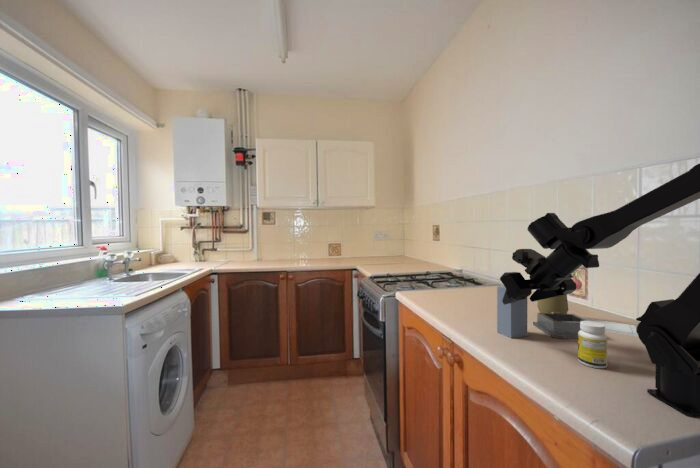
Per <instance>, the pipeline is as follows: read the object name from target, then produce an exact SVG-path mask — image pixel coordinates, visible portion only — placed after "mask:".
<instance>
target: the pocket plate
mask: <svg viewBox="0 0 700 468" xmlns="http://www.w3.org/2000/svg"><path fill="white" fill-rule="evenodd" d="M584 318H585V317H581V316H579V315H577V314H574V313H567V314H563V313H560V312H552V313H540V312H537V319H536V320H537V321H532V325H533V326H535V327H536V328H538V330H540V331H542V332H543V333H544V334H546V335H548V336H549V337H551V338H554V339H577V340H578V332H579V331H580V330H581V329H580V322H581V321H588V320H586V319H584Z"/></svg>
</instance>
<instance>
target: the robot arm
mask: <svg viewBox="0 0 700 468" xmlns="http://www.w3.org/2000/svg"><path fill="white" fill-rule="evenodd" d="M699 199H700V163H697V164H696V165H694V166H692V167H691V168H690V169H689V170H688V171H685V172H684V173H682V174H680V175H678V176H677V177H674V178H673V179H671V180H668V181H667V182H665V183H664V184H661V185H659V186H657V187H656V188H653V189H652V190H650V191H648V192H647V193H644V194H642V195H640V196H639V197H638V198H635V199H633V200H632V201H629V202H628V203H626V204H625V205H622V206H620V207H619V208H617V209H614V210H612V211H608V212H604V213H602V214H598V215H593V216H590V217H588V218H586V219H583V220H580V221H579V220H578V221H577V222H575V223H574V224H573V225H572V226H571V227H568V226H567V225H566V224H565V223H564V222H563V221H562V220H561V219H560V218H559V216H558V215H557V214H556V213H555V212H547V213H545V215H544V216H541V217H538V218H537V219H535V220H534V221H532V222H530V223H529V225H528V226H527V229H526V230H527V231H528V232H529V234H530V235H531V236H532V237H533V238H534V239H535V241H536V242H537V243H538V244H539V245H540V247H541V248H542V249H546V250H547V249H550V250H553V251H552V252H550V253H549V255H547V256H545V255H543V254H541V253H539V252H538V251H536V250H534V249H532V248H519V249H516V250H515V251H514V252H512V256H511V259H512V261H514V262H516V263H517V264H519V265H522V267H524V268H525V269H524V272H525V273H526V274H527V275H529V279H526V278H525V277H524V276H523V274H522V273H521V272H519V271H511V272H510V271H509V272H504V273H502V275H501V276H500V277H499V281H501V283H502V286H505V288H506V291H505V294H504V297H503V300H502V302H503V304H504V305H505V304H509V303H513V302H516V301H520V300H524V299H526V297H527V298H528V297H529V300H530V302H532V303H533V302H538V300H543V299H547V298H552V297H557V296H562V295H566V294H567V295H570V294H572V293H574V291H576V290H577V283H576V282H575V281H574V279H573V278H574V276H573V275H572V274H573V273H574V272H576V271H577V270H578V269H579V268H581V267H582V266H583V267H584V269H593V268H599V267H600V261H599V255H598V254H592V253H591V252H590V251H589V250H599V249H601V250H602V249H610V248H612V247H614V246H616V245H618V244H619V243H620V242H621V241H623V240H625V239H626V238H628V237H629V236H630V235H631V233H632V232H633V231H635V230H636V229H638V228H639V227H641V226H644V225H645V224H648V223H650V222H651V221H654V220H657V219H659V218H661V217H663V216H665V215H667V214H670V213H671V212H674V211H675V210H678V209H680V208H682V207H684V206H686V205H689V204H691V203H693V202H695V201H697V200H699ZM563 288H564V289H563ZM532 290H533V291H534V292H533V293H532ZM635 320H636V321H637V322H638V323H637V326H636V332H637V333H638V336H639V337H638V339H639V340H640V342H641V343H642V344H643V346H644V347H645V349H646V352H647V354H648V357H649V359H650V362H651V364H654V365H655V381H654V382H655V384H654V385H655V389H654V388H653V389H652V388H648V389H646V393H648V394H650V395H651V396H653V398H654V397H655V398H656V399H658V400H660V401H661V402H663V403H665V404H667V405H668V406H670V407H672V408H673V409H676V410H677V411H678V412H681V413H682V414H684V415H686V416H690V417H691V416H692V417H697V416H698V417H700V272H699V273H698V274H697V275H696V276H695V277H694V279H693V280H692V281H691V282H690V283H689V284H688V285H687V286H686V287H685V289H684V290H683V291H682V292H681V293H680V295H679V296H678V297H677V298H676V299H673V298H672V299H664V300H656V301H651V302H650V303H649V304H648V306H647V308H646V309H645V311H644V313H643V314H641V316H638V317H637V318H635Z"/></svg>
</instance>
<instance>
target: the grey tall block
mask: <svg viewBox="0 0 700 468" xmlns="http://www.w3.org/2000/svg"><path fill="white" fill-rule="evenodd" d="M496 290H497V292H496V294H497V295H496V298H497V299H496V302H497V303H496V312H497V314H496V317H497V318H496V320H497V321H496V325H497V326H496V329H497V330H496V332H497V333H498V334H500V335H503V336H505V337H507V338H510V339H515V338H521V337H527V336H528V297H526V299H524V300H520V301H516V302H513V303H509V304H505V305H504V304H503V302H502V300H503V297H504V294H505V291H506V288H505V286H504V285H500V286H497V287H496Z"/></svg>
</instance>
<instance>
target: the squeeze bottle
mask: <svg viewBox="0 0 700 468" xmlns="http://www.w3.org/2000/svg"><path fill="white" fill-rule="evenodd" d="M563 289H564V288H563ZM536 305H537V309H538V313H552V312H560V313H563V314H568V312H569V303H568V294H566V295H562V296H557V297H552V298H547V299H543V300H538V301H537V304H536Z"/></svg>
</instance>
